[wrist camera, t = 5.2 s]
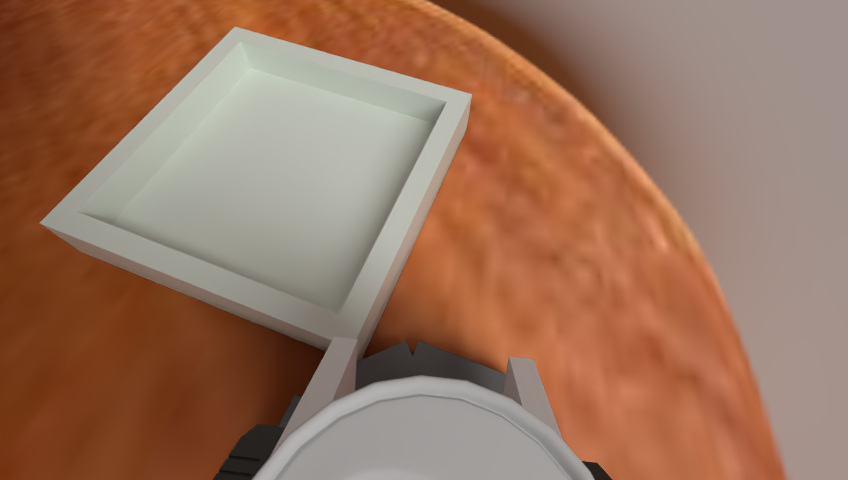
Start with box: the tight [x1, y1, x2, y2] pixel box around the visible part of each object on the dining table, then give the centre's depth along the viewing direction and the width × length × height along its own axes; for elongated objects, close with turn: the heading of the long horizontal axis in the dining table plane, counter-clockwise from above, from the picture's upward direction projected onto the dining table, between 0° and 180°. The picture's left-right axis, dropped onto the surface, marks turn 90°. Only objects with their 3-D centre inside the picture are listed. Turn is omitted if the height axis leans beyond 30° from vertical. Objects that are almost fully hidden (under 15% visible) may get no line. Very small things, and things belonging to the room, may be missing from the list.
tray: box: [40, 27, 472, 362], centre depth 21 cm, size 14×14×2 cm
